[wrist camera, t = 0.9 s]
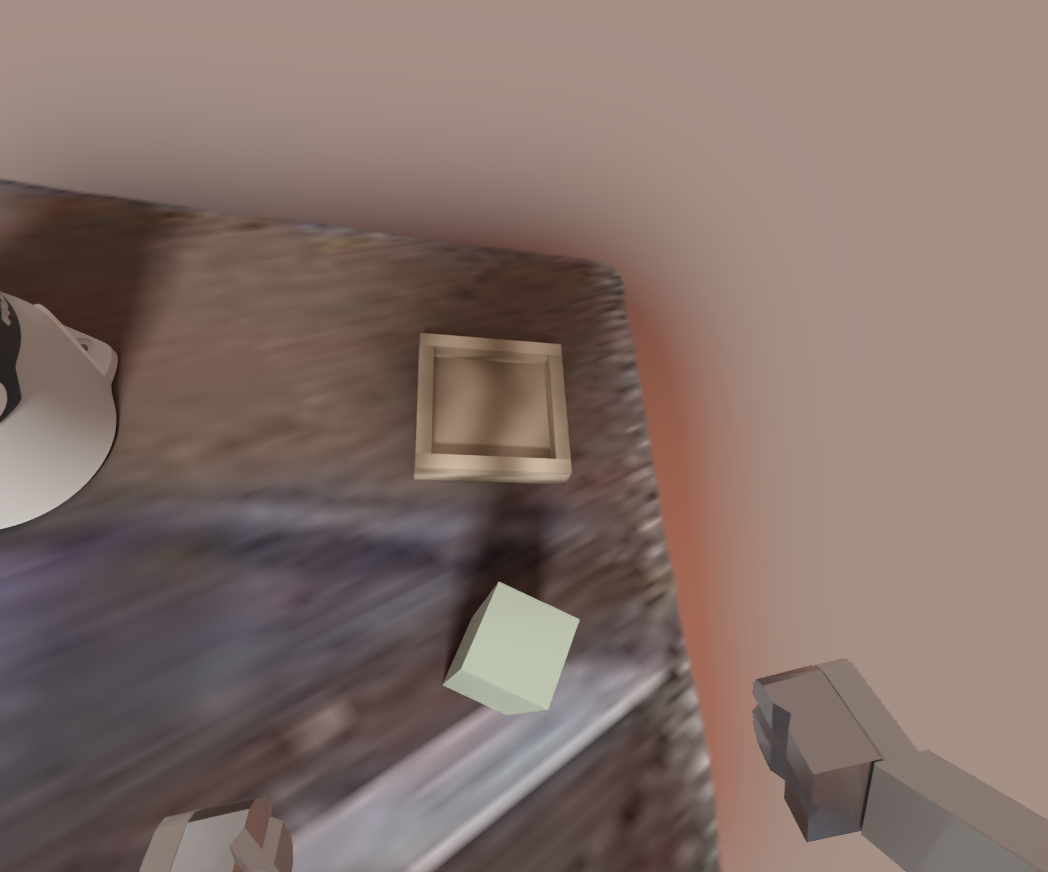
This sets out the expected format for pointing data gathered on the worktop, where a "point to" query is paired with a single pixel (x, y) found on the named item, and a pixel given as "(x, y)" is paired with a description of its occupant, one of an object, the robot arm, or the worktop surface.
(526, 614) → the sage block
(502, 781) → the worktop surface
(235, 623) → the worktop surface
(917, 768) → the robot arm
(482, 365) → the ash wood holder
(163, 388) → the worktop surface
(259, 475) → the worktop surface
